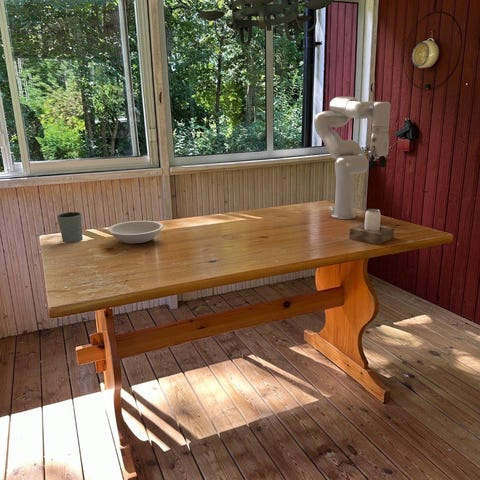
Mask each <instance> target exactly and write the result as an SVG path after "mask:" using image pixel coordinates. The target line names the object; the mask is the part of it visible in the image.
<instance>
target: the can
mask: <svg viewBox="0 0 480 480" xmlns="http://www.w3.org/2000/svg"><path fill="white" fill-rule="evenodd" d="M381 215H382V214H381V210H380V209H377V208H368V209H366V212H365V215H364V217H365V218H364V223H365V227H364V229H365V230H371V231H378V230H380V225H381V217H382V216H381Z"/></svg>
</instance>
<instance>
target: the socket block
mask: <svg viewBox="0 0 480 480" xmlns="http://www.w3.org/2000/svg"><path fill="white" fill-rule="evenodd" d="M364 227H365V222H363V223H361V224H358V225H356V226H353V227H351V228H349V237H348V238H349V239H351V240H354V241H360V242H364V243H368V244H369V243H370V244H373V245H374V244H375V245H379V246H380V245H381V244H384V243H386V242H387V241H389V240H391V239H394V237H395V236H394V235H395V227H393V226H387V225H381V224H380V230H378V231H371V230H365V229H364Z"/></svg>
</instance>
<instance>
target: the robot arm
mask: <svg viewBox="0 0 480 480" xmlns="http://www.w3.org/2000/svg"><path fill="white" fill-rule="evenodd" d="M391 105H392V104H391V103H390V102H389V101H359V100H358V99H357V98H356V97H354V96H335V97H334V98H333V99H331V100H330V102H329V109H330V110H323V111H319V112H318V113H316V114H315V116H314V119H313V121H314V123H313V124H314V125H313V126H314V129H315V132H316V134H317V135H318V136H319V138H320V139H321V140H322V142H323V143H324V146H325V147H326V150H327V151H328V153H329V155H330V156H331V158H333V159H334V160H335V162H334V171H335V193H334V197H335V198H334V206H329V208H328V211H329V212H332V213H331V215H330V216H331V217H332V218H333V219H334V218H335V219H340V220H352V219H355V218H356V217H357V215H356V213H354V201H355V199H354V198H355V180H354V178H353V176H352V175H358V174H359V175H360V174H364V173H366V172H367V171H368V169H369V170H375V171H376V169H377V157H380V158H379V159H378V160H379V161H378V167H379V168H386V167H387V157H388V154H389V148H390V147H389V145H390V137H389V131H390V120H391V118H390V117H391V108H392V107H391ZM352 119H355V120H356V119H358V120H359V119H361V120H364V119H371V137H370V145H369V150H368V158H367V156H366V154H365V152H364V151H363V149H362V148H361V145H359V143H358V142H357V141H355V140H350V139H349V140H347V139H346V140H343V139H342V138H341V136H340V134H338V132H337V131H335V129H333V128H341V127H344V126H345V125H347V124H348V122H349V121H350V120H352Z"/></svg>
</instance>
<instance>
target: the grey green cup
mask: <svg viewBox="0 0 480 480" xmlns="http://www.w3.org/2000/svg"><path fill="white" fill-rule="evenodd" d="M56 218H57V222H58V226H59V229H60V231H59V232H60V235H61V241H62V242H63V243H65V244H73V243H79V242H81V241H83V224H82V212H79V211H68V212H67V211H66V212H62V213H59V214H57V215H56Z"/></svg>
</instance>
